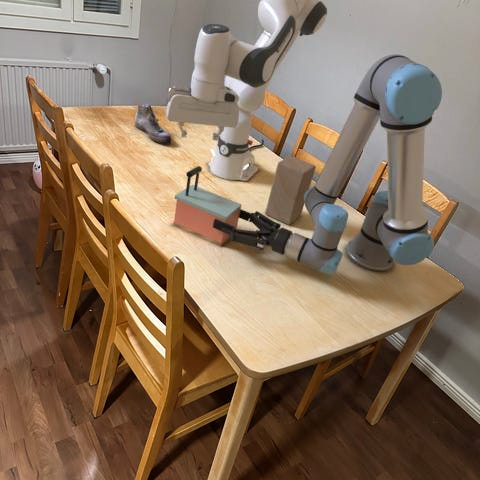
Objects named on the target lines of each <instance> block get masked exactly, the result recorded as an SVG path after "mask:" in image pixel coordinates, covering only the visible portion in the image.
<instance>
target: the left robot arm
mask: <svg viewBox="0 0 480 480" xmlns="http://www.w3.org/2000/svg"><path fill="white" fill-rule="evenodd" d="M327 16H328V8H327V6H326V5H325V4H324V3H323V1H321V0H260V1H259V3H258V7H257V17H258V21H259V24H260V25H261V27H262V29H263V32H262V33H261V35H260V36H259V38H258V39H257V41H256V42H255V44H251V43H250V44H249V43H247V42H245V41H241V40H239V39H237V38H236V37H234V36H233V35H232V34H231V29H230V28H229V27H228V26H226V25H223V24H219V23H208V24H205V25H203V26H202V27H201V29H200V30H199V33H198V37H197V41H196V45H195V50H194V56H193V57H194V58H193V61H194V68H193V72H192V74H191V81H190V87H185V86H178V85H175V86H173V87H170V88H169V89H168V91H167V95H166V96H167V97H166V99H167V105H166V109H165V116H166V119H167V120H168V121H169V122H174V123H177V125H178V127H179V129H180V138H185V139H187V135H188V131H187V130H186V129H184V126H185V124H192V125H194V124H195V125H203V126H214V127H217V128H218V129H217V130H216V132H213V133H212V137H211V138H212V139H211V140H212V141H214V142H215V141H216V142H217V145H216V146H215V147H214V149H210V152H211V153H212V157H211V160H209V161H208V164H207V165H208V166H209V170H210V172H211V173H212V174H213V175H215V176H216V177H218V178H220V179H225V180H229V181H242V182H247V181H249V179H251V177H253V176H254V175H255V174H256V173H257V172H258V171H259V166H257V165H255V164H254V163H255V155H254V154H253V153H252V152H251V151H250V150H251V149H254V148H259V147H262V146H264V143H265V141H264V139H263V138H262V139H261V143H260V144H256V145H253V143H254V141H253V140H251V139H249V138H250V133H251V128H252V124H253V121H252V112H255V111H258V110H259V109H260V108H261V107H262V106H263V104H264V102H265V97H266V92H267V90H268V88H269V86H270V82H271V80H272V79H273V76H274V74H275V73H276V71H277V69H278V68H279V66H280V65H281V63H282V61H284V59H285V57H286V56H287V54H288V52H290V50H291V49H292V47H293V45H294V44H295V41H296V40H297V38H298V36H299V37H303V36H311V35H314V34H315V33H317V32H318V31H319V30H320V29H321V28H322V27H323V25H324V23H325V21H326V18H327Z"/></svg>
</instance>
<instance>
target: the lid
mask: <svg viewBox="0 0 480 480" xmlns="http://www.w3.org/2000/svg"><path fill="white" fill-rule="evenodd" d="M202 171H203V168H202V166H200V165H197V166H196V167H193V168H192V169H189V170H188V171H186V177H187V181H186V188H184V189H183V190H181V191H179V192H178V193H176V194H175V195H174V200H176V201H177V200H179V201H181V202H183V203H186V204H188V205H191V206H193V207H195V208H198V209H200V210H202V211H205V212H207V213H210V214H212V215H214V216H217V217H219V218H222V219H224V220H227V219H228V218H229V217H231V216H232V215H233V214H234V213H235V212H237V211H238V210H239V209H240V208H241V209H242V206H243V205H242V204H241V203H239V202H236V201H235V200H232V199H230V198H227V197H224V196H222V195H219V194H217V193H214V192H213V191H209V190H207V189H205V188H202V187H200V186H199V178H200V173H201V172H202ZM194 176H195V179H194V180H195V181H194V184H191V180H192V179H191V178H193V177H194Z"/></svg>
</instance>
